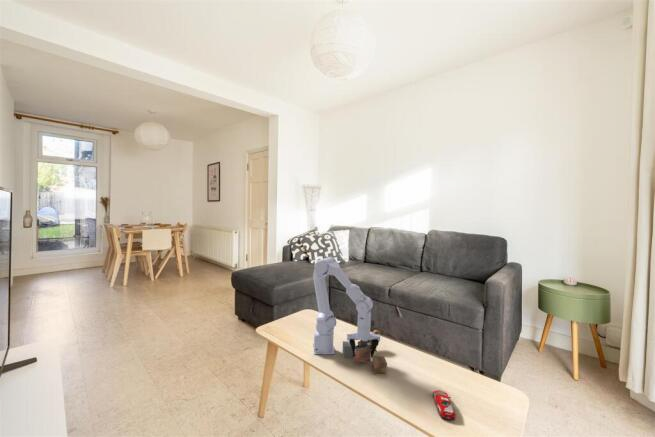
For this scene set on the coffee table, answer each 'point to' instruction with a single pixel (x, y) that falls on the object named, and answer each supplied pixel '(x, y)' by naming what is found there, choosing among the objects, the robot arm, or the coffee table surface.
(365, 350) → the lighter
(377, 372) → the walnut block
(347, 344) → the gray block
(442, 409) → the race car
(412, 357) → the coffee table surface
